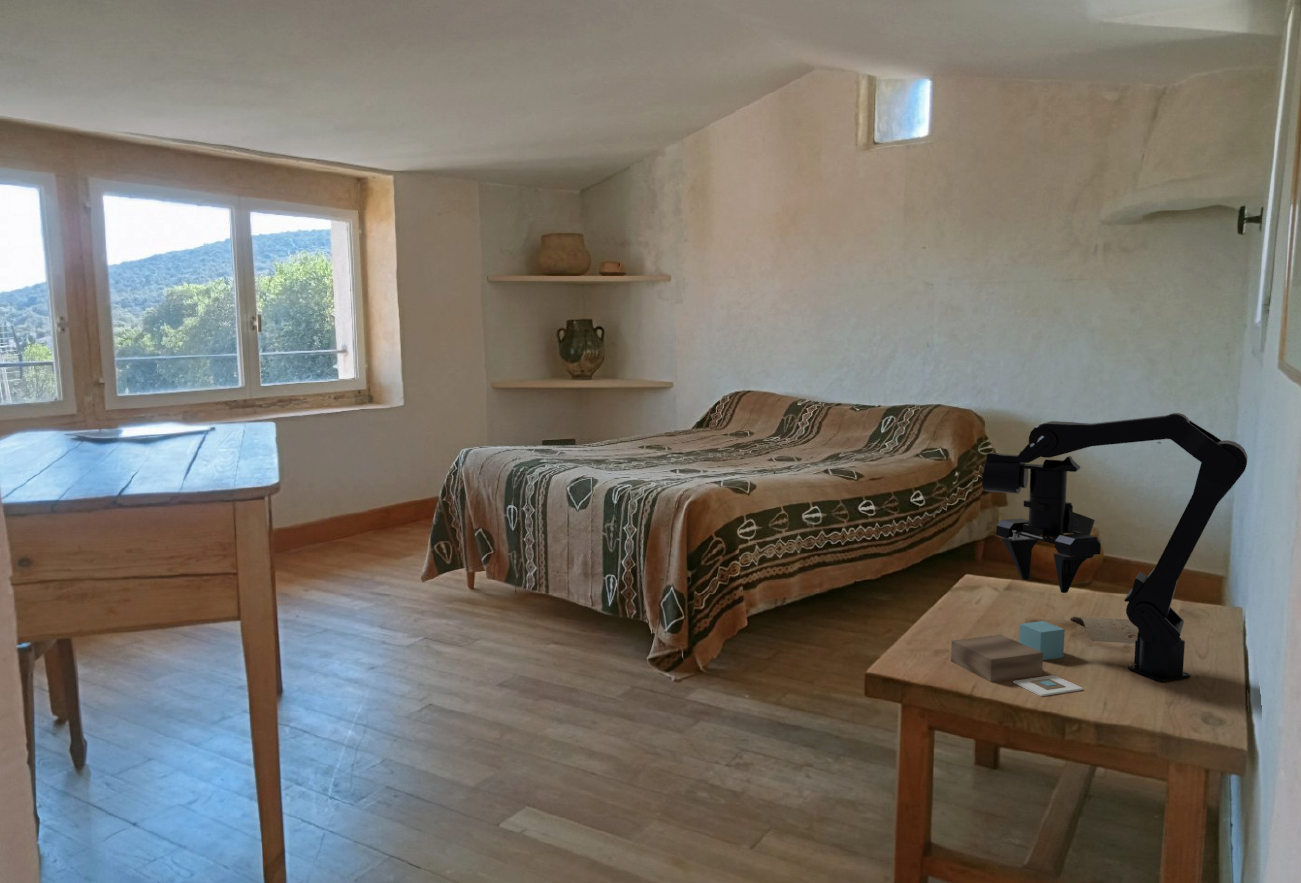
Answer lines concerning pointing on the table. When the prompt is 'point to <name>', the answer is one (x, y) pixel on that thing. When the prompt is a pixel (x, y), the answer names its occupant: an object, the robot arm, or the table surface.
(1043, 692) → the card
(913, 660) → the table surface
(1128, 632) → the clay tablet
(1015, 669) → the walnut block
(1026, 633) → the teal cube
